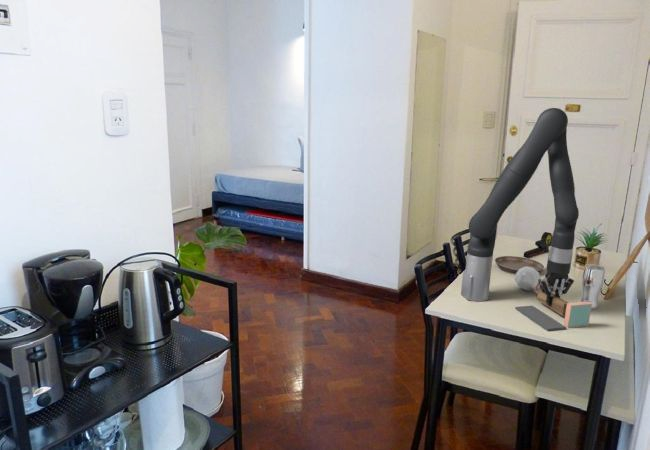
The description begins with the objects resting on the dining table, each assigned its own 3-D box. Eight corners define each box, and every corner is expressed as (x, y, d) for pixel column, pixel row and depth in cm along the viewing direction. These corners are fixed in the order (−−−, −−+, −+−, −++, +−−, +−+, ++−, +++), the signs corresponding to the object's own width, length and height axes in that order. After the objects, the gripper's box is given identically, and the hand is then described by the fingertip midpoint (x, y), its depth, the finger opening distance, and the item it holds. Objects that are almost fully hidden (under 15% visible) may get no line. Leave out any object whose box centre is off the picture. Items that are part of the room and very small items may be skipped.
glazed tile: (568, 328, 166) (571, 305, 164) (563, 325, 168) (567, 303, 166) (588, 326, 168) (592, 304, 166) (583, 323, 170) (587, 301, 168)
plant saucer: (532, 263, 233) (533, 256, 232) (551, 278, 213) (552, 271, 212) (488, 261, 233) (489, 255, 233) (502, 277, 213) (503, 269, 213)
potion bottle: (518, 287, 205) (544, 305, 192) (505, 276, 201) (530, 294, 188) (533, 269, 204) (560, 286, 191) (520, 258, 200) (546, 275, 187)
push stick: (562, 315, 172) (564, 303, 171) (536, 299, 185) (538, 288, 184) (567, 315, 173) (569, 303, 172) (542, 299, 186) (543, 288, 185)
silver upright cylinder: (580, 300, 190) (586, 262, 186) (601, 305, 186) (607, 266, 182) (576, 305, 185) (582, 267, 181) (597, 310, 180) (603, 271, 177)
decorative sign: (551, 248, 257) (553, 229, 254) (555, 249, 255) (558, 230, 253) (523, 257, 240) (525, 237, 238) (527, 258, 239) (530, 238, 236)
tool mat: (547, 331, 163) (547, 328, 163) (515, 308, 180) (515, 306, 180) (565, 329, 165) (566, 327, 165) (532, 307, 182) (532, 305, 182)
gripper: (549, 263, 169) (542, 310, 174) (584, 261, 173) (576, 308, 177) (535, 256, 176) (528, 301, 181) (569, 255, 180) (561, 299, 184)
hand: (552, 304), depth 179 cm, fingers closed on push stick, 2 cm apart
